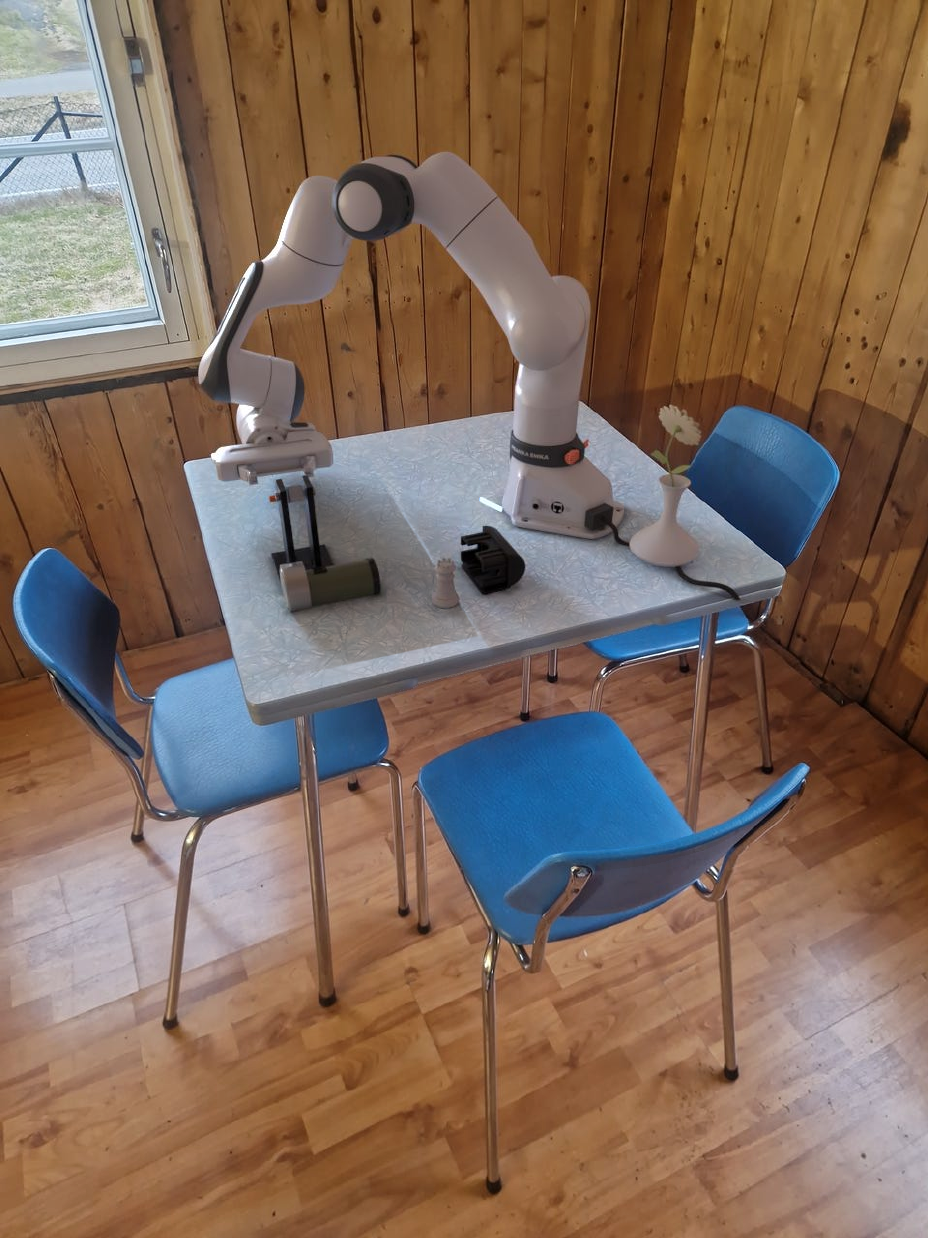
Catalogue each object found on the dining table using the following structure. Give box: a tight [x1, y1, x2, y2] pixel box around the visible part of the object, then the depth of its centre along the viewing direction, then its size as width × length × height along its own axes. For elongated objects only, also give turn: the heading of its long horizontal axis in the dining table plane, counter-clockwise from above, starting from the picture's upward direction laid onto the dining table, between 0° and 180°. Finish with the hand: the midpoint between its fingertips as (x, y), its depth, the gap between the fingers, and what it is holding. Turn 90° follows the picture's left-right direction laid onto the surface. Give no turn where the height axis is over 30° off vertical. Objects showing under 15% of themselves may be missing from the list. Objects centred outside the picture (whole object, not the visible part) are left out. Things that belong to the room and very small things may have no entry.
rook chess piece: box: [431, 557, 461, 609], centre depth 125 cm, size 4×4×8 cm
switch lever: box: [268, 484, 305, 504], centre depth 133 cm, size 16×6×2 cm
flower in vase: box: [628, 404, 702, 568], centre depth 133 cm, size 13×11×25 cm
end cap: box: [460, 525, 526, 596], centre depth 132 cm, size 10×7×7 cm
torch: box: [280, 556, 382, 613], centre depth 126 cm, size 14×7×7 cm, turn 110°
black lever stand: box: [270, 474, 334, 587], centre depth 131 cm, size 11×9×16 cm
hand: (281, 476), depth 140 cm, fingers open, 8 cm apart
